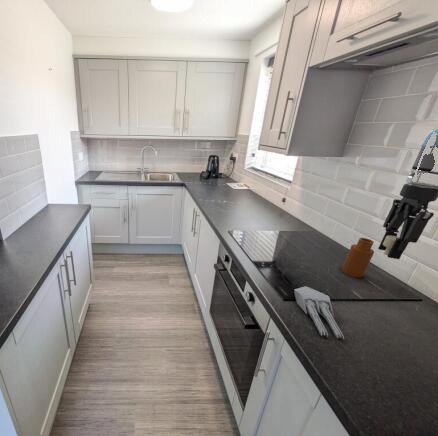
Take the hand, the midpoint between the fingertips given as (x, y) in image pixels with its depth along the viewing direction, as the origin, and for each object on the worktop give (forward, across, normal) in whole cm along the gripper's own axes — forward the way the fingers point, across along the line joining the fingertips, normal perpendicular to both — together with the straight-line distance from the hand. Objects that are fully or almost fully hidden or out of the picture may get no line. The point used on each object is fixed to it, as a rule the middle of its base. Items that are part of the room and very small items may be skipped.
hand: (388, 253), depth 76 cm
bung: (0, 0, 0) cm, 0 cm away
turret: (+20, +14, -19) cm, 31 cm away
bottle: (+20, -21, +4) cm, 29 cm away
